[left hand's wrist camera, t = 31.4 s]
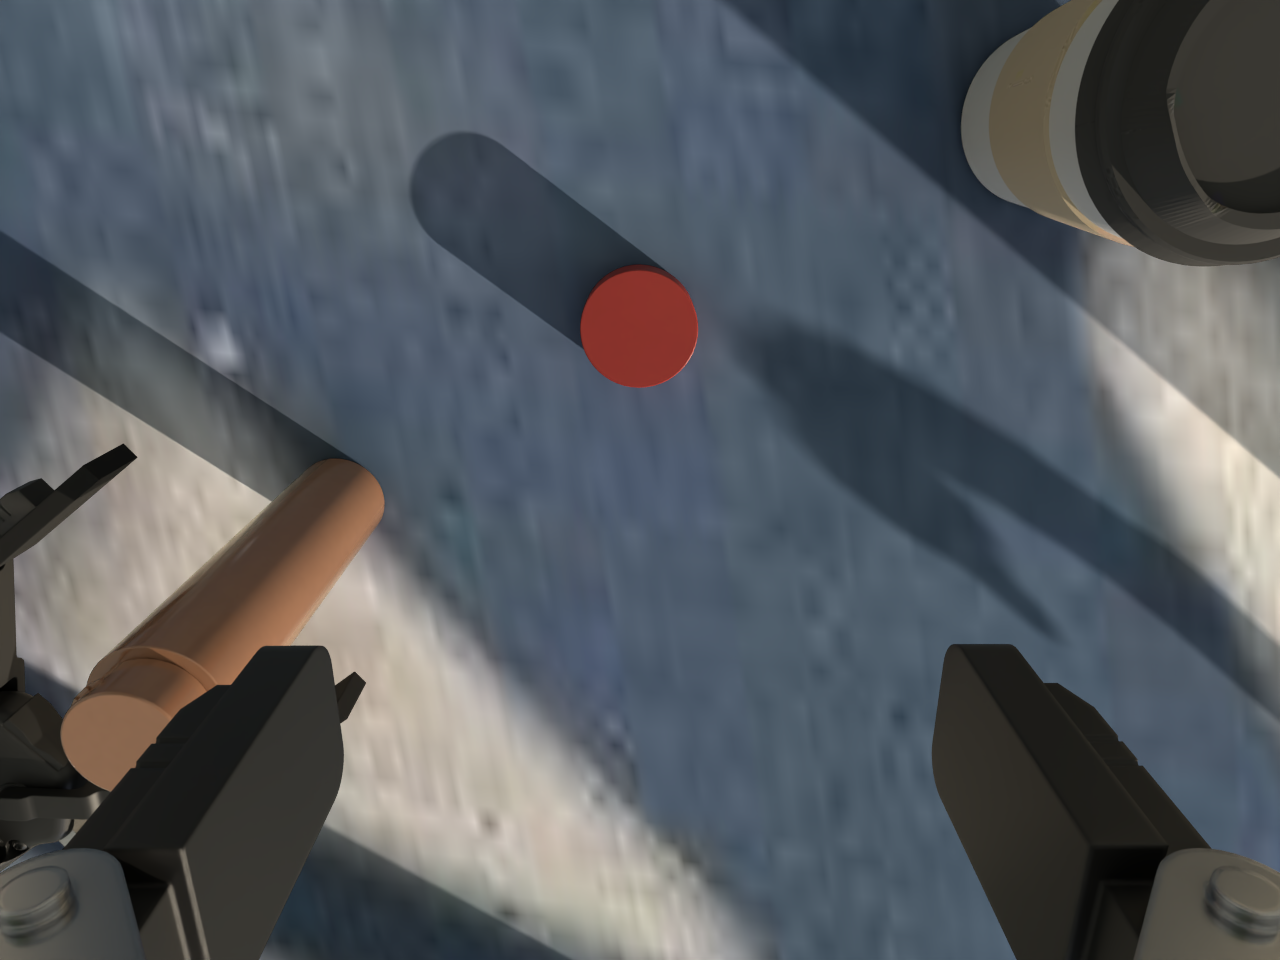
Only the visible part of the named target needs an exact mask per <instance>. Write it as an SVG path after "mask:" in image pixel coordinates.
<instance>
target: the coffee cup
mask: <svg viewBox="0 0 1280 960" xmlns="http://www.w3.org/2000/svg"><path fill="white" fill-rule="evenodd" d="M961 136H962V144H963V149H964V152H965V156H966V158H967V161H968V163H969V166H970V168H971V169H972V171H973V173H974V174H975V176H976V177H977V179H978V180H979V181H980V182H981V183H982V184H983V185H984V186H985V187H986V188H987V189H988V190H989V191H990V192H992V193H993V194H995V195H996V196H998V197H1000V198H1002V199H1004V200H1006V201H1009V202H1012V203H1015V204H1018V205H1021V206H1024V207H1027V208H1030V209H1031V210H1033V211H1035V212H1036V213H1038V214H1040V215H1043V216H1045V217H1048V218H1050V219H1053V220H1056V221H1059V222H1062V223H1065V224H1067V225H1070V226H1073V227H1076V228H1079V229H1081V230H1084V231H1087V232H1090V233H1093V234H1096V235H1098V236H1101V237H1104V238H1107V239H1110V240H1112V241H1115V242H1118V243H1121V244H1124V245H1128V246H1132V247H1136V248H1137V249H1139V250H1141V251H1143V252H1145V253H1147V254H1149V255H1151V256H1153V257H1156V258H1158V259H1161V260H1165V261H1168V262H1172V263H1177V264H1182V265H1190V266H1220V265H1239V264H1250V263H1257V262H1262V261H1266V260H1270V259H1274V258H1277V257H1280V0H1071V1H1070V2H1068V3H1066V4H1064V5H1062V6H1060V7H1059V8H1057V9H1055V10H1054V11H1052V12H1050V13H1049V14H1048V15H1046V16H1045V17H1043V18H1042V19H1041V20H1040V21H1038V22H1037V23H1036V24H1035V25H1034V26H1033V27H1031V28H1029V29H1028V30H1026V31H1024V32H1022V33H1020V34H1018V35H1016V36H1015V37H1013V38H1011V39H1009V40H1008V41H1007V42H1005V43H1004V44H1002V45H1001V46H1000V47H999V48H998V49H996V50H995V51H994V52H993V53H992V54H991V55H990V56H989V57H988V59H987V60H986V61H985V62H984V63H983V65H982V66H981V68H980V69H979V71H978V72H977V74H976V75H975V77H974V79H973V81H972V83H971V85H970V87H969V90H968V93H967V95H966V99H965V102H964V106H963V111H962V119H961Z"/></svg>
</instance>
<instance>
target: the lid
mask: <svg viewBox="0 0 1280 960" xmlns="http://www.w3.org/2000/svg"><path fill="white" fill-rule="evenodd" d="M580 334H581V341H582V345H583V348H584V351H585V353H586V355H587V357H588V359H589V360H590V362H591V363H592V365H593V366H594V367H595V368H596V369H597V370H598V371H599V372H600V373H601V374H602V375H603V376H605V377H606V378H608V379H609V380H611V381H613V382H615V383H618V384H621V385H624V386H629V387H639V388H640V387H649V386H654V385H657V384H660V383H663V382H665V381H667V380H669V379H670V378H672V377H673V376H675V375H676V374H677V373H678V372H679V371H681V369H682V368H683V367H684V366H685V365H686V363H687V362H688V361H689V359H690V357H691V355H692V353H693V351H694V348H695V346H696V341H697V336H698V321H697V316H696V312H695V309H694V306H693V303H692V300H691V298H690V296H689V294H688V292H687V291H686V289H685V288H684V286H683V285H682V284H681V283H680V282H679V281H678V280H677V279H676V278H675V277H674V276H672V275H671V274H669V273H668V272H666V271H664V270H662V269H660V268H657V267H654V266H649V265H629V266H624V267H621V268H619V269H616V270H614V271H612V272H610V273H609V274H607V275H606V276H605V277H603V278H602V279H601V280H600V281H599V282H598V283H597V284H596V286H595V287H594V288H593V290H592V291H591V293H590V295H589V297H588V299H587V301H586V304H585V306H584V309H583V312H582V316H581V322H580Z"/></svg>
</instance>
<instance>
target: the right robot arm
mask: <svg viewBox="0 0 1280 960" xmlns="http://www.w3.org/2000/svg"><path fill="white" fill-rule="evenodd" d="M136 458H137V456H136V455H135V454H134V453H133V452H132V451H131V450H129V449H128V448H127V447H126V446H125V445H124V444H122V445H120V446H118V447H116V448H114V449H113V450H111V451H109V452H107V453H105V454H103V455H102V456H100V457H98V458H96V459H94V460H92V461H91V462H89V463H87V464H85V465H83V466H82V467H81V468H80V469H79V470H78V471H76V472H75V473H74V474H73V475H72V476H71V477H70V478H68V479H67V480H66V481H65V482H64V483H63V484H61V485H60V486H59V487H58V488H57V489H56V490H55V491H54V490H53V489H52V488H51V487H50V486H49V485H48V484H47V483H46V482H45V481H44V480H43V479H42V478H41V479H37V480H33V481H30V482H28V483H26V484H24V485H22V486H20V487H18V488H16V489H14V490H13V491H11V492H9V493H7V494H5V495H4V496H3V497H2V498H1V499H0V871H2V870H3V869H4V868H6V867H7V866H9V865H10V864H11V863H13V862H14V861H15V860H17V859H18V858H19V857H21V856H22V855H23V854H25V853H26V852H27V851H29V850H30V849H32V848H33V847H35V846H37V845H40V844H45V843H53V842H57V841H59V842H60V843H61V844H62V845H63V846H64V847H65V846H66V845H67V844H68V842H69V841H70V840H71V839H72V838H73V836H74V835H75V834H76V833H77V832H78V831H79V829H80V828H81V827H82V826H83V825H84V823H85V822H86V821H87V819H89V817H90V816H91V815H92V814H93V813H94V811H95V810H96V809H97V808H98V807H99V805H100V804H101V803H102V802H103V801H104V799H105V798H106V797H107V796H108V795H109V794H110V791H108V790H105V789H103V788H101V787H99V786H97V785H95V784H93V783H92V782H90V781H88V780H87V779H86V778H84V777H83V776H82V775H81V774H80V773H79V772H78V771H77V770H76V769H75V768H74V767H73V766H72V764H71V763H70V762H69V760H68V758H67V757H66V755H65V753H64V750H63V747H62V744H61V738H60V731H61V725H62V721H63V719H62V718H61V717H60V715H59V714H58V713H57V711H56V710H55V709H54V707H53V706H52V705H51V704H50V703H49V702H48V701H47V700H46V699H44V698H43V697H42V696H41V695H40V694H39V693H37V694H36V695H35V696H32V695H29V694H27V693H25V671H24V660H23V659H22V658H17V655H16V626H15V595H14V564H13V558H15V557H16V556H18V555H20V554H21V553H23V552H24V551H26V550H28V549H29V548H31V547H32V546H34V545H35V544H37V543H38V542H39V541H40V540H41V539H42V538H44V537H45V536H46V535H47V534H48V533H49V532H51V531H52V530H53V529H54V528H55V527H56V526H58V525H59V524H60V523H61V522H62V521H63V520H65V519H66V518H67V517H68V516H69V515H71V514H72V513H73V512H74V511H75V510H76V509H78V508H79V507H80V506H81V505H82V504H83V503H85V502H86V501H87V500H88V499H89V498H90V497H92V496H93V495H94V494H95V493H96V492H97V491H99V490H100V489H101V488H102V487H103V486H104V485H106V484H107V483H108V482H109V481H110V480H111V479H113V478H114V477H115V476H116V475H117V474H119V473H120V472H121V471H122V470H123V469H124V468H126V467H127V466H128V465H129V464H130V463H131V462H133V461H134V460H135V459H136ZM365 684H366V682H365V681H364V680H363V679H362V678H361V677H360V676H359V675H358V674H357V673H356V672H353V673H352V674H351V675H349V676H348V677H346V678H345V679H344V680H342V681H341V682H339V683H338V684H337V685H335V691H336V698H337V705H338V712H339V719H340V723H342V722H343V721H345V720H346V719H347V718H348V716H349V714H350V712H351V711H352V709H353V707H354V705H355V703H356V701H357V699H358V697H359V695H360V694H361V692H362V690H363V688H364V686H365Z"/></svg>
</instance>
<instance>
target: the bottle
mask: <svg viewBox="0 0 1280 960" xmlns="http://www.w3.org/2000/svg"><path fill="white" fill-rule="evenodd" d="M383 512H384V496H383V492H382V489H381V487H380V485H379V483H378V482H377V480H376V479H375V477H374V476H373V475H372V474H371V473H370V472H369V471H368V470H366V469H365V468H364V467H362V466H361V465H359V464H357V463H355V462H352V461H349V460H344V459H326V460H322V461H319V462H317V463H315V464H313V465H312V466H310V467H309V468H308V469H307V470H306V471H304V472H303V473H302V474H301V475H300V476H299V477H298V478H297V479H296V480H295V481H294V482H293V483H291V484H290V485H289V486H288V487H287V488H286V489H285V490H284V491H283V492H282V493H281V494H280V495H279V496H277V497H276V498H275V499H274V500H273V501H272V502H271V503H270V504H269V505H268V506H267V507H266V508H265V509H263V510H262V511H261V512H260V513H259V514H258V515H257V516H256V517H255V518H254V519H253V520H252V521H250V522H249V523H248V524H247V525H246V526H245V527H244V528H243V529H242V530H241V531H240V532H239V533H238V534H236V535H235V536H234V537H233V538H232V539H231V540H230V541H229V542H228V543H227V544H226V545H225V546H223V547H222V548H221V549H220V550H219V551H218V552H217V553H216V554H215V555H214V556H213V557H212V558H211V559H209V560H208V561H207V562H206V563H205V564H204V565H203V566H202V567H201V568H200V569H199V570H198V571H197V572H195V573H194V574H193V575H192V576H191V577H190V578H189V579H188V580H187V581H186V582H185V583H184V584H182V585H181V586H180V587H179V588H178V589H177V590H176V591H175V592H174V593H173V594H172V595H171V596H170V597H168V598H167V599H166V600H165V601H164V602H163V603H162V604H161V605H160V606H159V607H158V608H157V609H156V610H154V611H153V612H152V613H151V614H150V615H149V616H148V617H147V618H146V619H145V620H144V621H143V622H141V623H140V624H139V625H138V626H137V627H136V628H135V629H134V630H133V631H132V632H131V633H130V634H129V635H127V636H126V637H125V638H124V639H123V640H122V641H121V642H120V643H119V644H118V645H117V646H116V647H114V648H113V649H112V650H111V651H110V652H109V653H108V654H107V655H106V656H105V657H104V658H103V659H102V660H100V661H99V662H98V664H97V665H96V666H95V667H94V669H93V670H92V672H91V674H90V676H89V679H88V681H87V686H86V687H85V688H84V689H83V690H82V691H81V692H80V693H79V694H78V695H77V696H76V697H75V698H74V700H73V703H72V705H71V707H70V708H69V710H68V711H67V713H66V714H65V716H64V719H63V721H62V725H61V731H60V738H61V744H62V747H63V750H64V753H65V755H66V757H67V758H68V760H69V762H70V763H71V764H72V766H73V767H74V768H75V769H76V770H77V771H78V772H79V773H80V774H81V775H82V776H83V777H84V778H86V779H87V780H88V781H90V782H92V783H93V784H95V785H97V786H99V787H101V788H103V789H105V790H108V791H110V792H111V791H112V790H113V789H114V788H115V786H116V785H117V784H118V783H119V782H120V780H121V779H122V778H123V777H124V776H125V774H126V773H127V772H128V771H129V770H130V768H135V767H136V761H137V760H138V759H139V758H140V757H141V755H142V754H143V753H144V752H145V751H146V749H147V748H148V747H149V746H150V745H151V744H155V743H156V737H157V736H158V735H159V734H160V733H161V731H162V730H163V729H164V728H165V727H166V725H167V724H168V723H169V722H170V721H171V720H172V718H173V717H174V716H175V715H176V714H177V712H178V711H179V710H180V709H181V708H183V707H184V706H186V705H187V704H189V703H190V702H192V701H193V700H195V699H196V698H198V697H199V696H201V695H202V694H204V693H205V692H207V691H208V690H210V689H211V688H213V687H214V686H216V685H231V684H232V683H233V681H234V680H235V679H236V678H237V676H238V675H239V674H240V672H241V671H242V670H243V669H244V667H245V666H246V665H247V663H248V662H249V661H250V660H251V658H252V657H253V656H254V655H255V653H256V652H257V651H258V650H259V649H260V648H261V647H263V646H291V644H292V643H293V642H294V640H295V639H296V638H297V636H298V635H299V633H300V632H301V631H302V629H303V628H304V626H305V625H306V624H307V622H308V621H309V620H310V618H311V617H312V615H313V614H314V613H315V611H316V610H317V608H318V607H319V606H320V604H321V603H322V601H323V600H324V599H325V597H326V596H327V595H328V593H329V592H330V590H331V589H332V588H333V586H334V585H335V583H336V582H337V581H338V579H339V578H340V576H341V575H342V574H343V572H344V571H345V570H346V568H347V567H348V565H349V564H350V563H351V561H352V560H353V558H354V557H355V556H356V554H357V553H358V552H359V550H360V549H361V547H362V546H363V545H364V543H365V542H366V540H367V539H368V538H369V536H370V535H371V533H372V532H373V531H374V529H375V528H376V527H377V525H378V524H379V522H380V520H381V518H382V516H383Z"/></svg>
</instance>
